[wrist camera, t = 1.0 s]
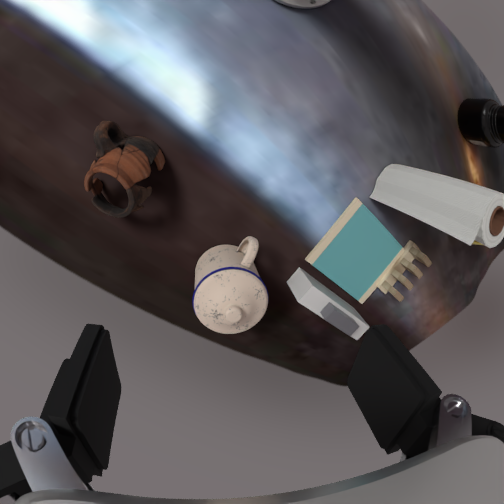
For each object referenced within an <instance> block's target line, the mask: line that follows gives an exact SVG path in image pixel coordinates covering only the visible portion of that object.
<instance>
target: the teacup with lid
mask: <svg viewBox="0 0 504 504" xmlns="http://www.w3.org/2000/svg"><path fill="white" fill-rule="evenodd" d="M258 247H259V243H258V240H257V239H256V238H254V237H251V236H249V237H246V238H245V239H244V240H243V241H242V242H241V244H240V246H239V247H237V246H233V245H219V246H215V247H213V248H211V249H209V250H207V251H206V252H205V253H204V254H203V255H202V256H201V257H200V259H199V260H198V262H197V265H196V269H195V291H194V294H193V308H194V312H195V314H196V316H197V317H198V319H199V320H200V321H201V322H202V323H203V324H204V325H205V326H206V327H208V328H209V329H211V330H213V331H216V332H219V333H224V334H234V333H240V332H243V331H246V330H248V329H250V328H251V327H253V326H254V325H256V324H257V323H258V322H259V321H260V320H261V318H262V317H263V315H264V314H265V312H266V309H267V305H268V291H267V288H266V285H265V284H264V282H263V281H262V279H261V278H260V276H259V274H258V272H257V269H256V267H255V265H254V262H253V261H254V259H255V257H256V255H257V252H258Z"/></svg>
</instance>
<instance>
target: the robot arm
mask: <svg viewBox="0 0 504 504" xmlns="http://www.w3.org/2000/svg"><path fill="white" fill-rule="evenodd" d="M275 1H277V2H279V3H281V4H284V5H286V6H290V7H294V8H301V9H312V8H318V7H321V6H323V5H325V4H327V3H328V2H330V1H331V0H275ZM347 384H348V387H349V389H350V391H351V393H352V395H353V397H354V398H355V400H356V402H357V404H358V406H359V408H360V409H361V411H362V413H363V415H364V417H365V419H366V421H367V423H368V424H369V426H370V428H371V430H372V432H373V434H374V436H375V438H376V440H377V441H378V443H379V445H380V447H381V448H383V449H385V451H386V453H387V454H390V453H393V452H396V451H398V450H399V449H401V450H402V456H401V460H400V462H399V463H397V464H394V465H391V466H388V467H385V468H383V469H380V470H377V471H374V472H371V473H367V474H364V475H361V476H358V477H354V478H351V479H347V480H343V481H339V482H336V483H331V484H327V485H323V486H319V487H314V488H309V489H304V490H298V491H293V492H287V493H281V494H273V495H265V496H256V497H246V498H231V499H166V498H149V497H139V496H130V495H121V494H114V493H105V492H98V491H95V490H94V489H93V487H92V486H91V484H90V483H89V482H91V481H92V476H93V475H97V476H102V471H103V469H105V470H106V469H107V468H108V463H109V456H110V449H111V442H112V437H113V431H114V426H115V419H116V415H117V410H118V405H119V400H120V395H121V383H120V379H119V375H118V371H117V367H116V362H115V358H114V354H113V349H112V344H111V339H110V334H109V331H108V330H104V327H103V326H102V325H95V324H86V326H85V328H84V330H83V332H82V334H81V336H80V338H79V340H78V342H77V344H76V347H75V349H74V351H73V354H72V355H71V358H70V359H65V360H64V361H63V363H62V365H61V367H60V370H59V372H58V374H57V376H56V379H55V381H54V384H53V386H52V388H51V391H50V393H49V395H48V398H47V401H46V403H45V406H44V408H43V411H42V413H41V416H40V418H37V417H27V418H23V419H21V420H19V421H18V422H17V423H16V424H15V425H14V426H13V428H12V431H11V441H9V442H7V443H5V444H2V445H0V504H504V426H503V425H502V424H500V423H498V422H496V421H492V420H489V419H486V418H482V417H479V416H476V415H473V414H471V407H470V406H469V403H468V402H467V401H466V400H465V399H464V398H462V397H461V396H459V395H456V394H447V395H446V396H444V397H443V398H442V399H440V398H439V396H440V395H441V393H442V391H441V390H440V389H439V388H438V386H437V385H436V384H435V383H434V381H433V380H432V379H431V378H430V377H429V375H428V374H427V373H426V371H425V370H424V369H423V368H422V366H421V365H420V364H419V363H418V362H417V360H416V359H415V358H414V357H413V356H412V354H411V353H410V352H409V351H408V349H407V348H406V347H405V346H404V345H403V344H402V342H401V341H400V340H399V339H398V338H397V336H396V335H395V334H394V333H393V332H392V331H391V329H390V328H389V327H388V326H387V325H373V326H371V327H370V329H369V330H367V332H366V334H365V337H364V339H363V342H362V345H361V347H360V350H359V352H358V355H357V357H356V360H355V362H354V365H353V367H352V369H351V372H350V374H349V377H348V379H347Z"/></svg>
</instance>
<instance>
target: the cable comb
mask: <svg viewBox="0 0 504 504" xmlns="http://www.w3.org/2000/svg"><path fill="white" fill-rule="evenodd" d="M404 249H405V251H404V252H403V254H402V255H401V256H400V257H399V259H398V260H397V261H396V262H395V264H394V265H393V266H392V267H391V269H390V270H389V271H388V272H387V273H386V275H385V276H384V277H383V278H382V279H381V281H380V282H379V283H378V284H377V285H376V286H377V287H378V288H379V289H380V290H381V291H382V292H384V293H385V294H386V293H387V292H388V291H389V292H390V293H391V294H392V295H393V296H394V297H395V298H396V299H397V300H398V301H400V302H401V301H402V300H403V299H404V297H403V296H402V295H401V294H400V293H399V292H398V291H397V290H396V289H395V288H394V287H392V286H393V285H394V284H395V282H396V281H397V280H398V281H399V282H400V283H401V284H403V285H404V286H405V287H406V288H407V289H409V290H411V289H412V288H413V285H412V283H411V282H410V281H409V280H408V279H407V278H405V277H404V276H403V275H402V274H403V273H404V271H405V270H406V269H407V270H408V271H409V272H411V273H412V274H413V275H415V276H416V277H417V278H419V279H420V278H421V276H422V275H423V274H422V272H421V271H420V270H419V269H418V268H417V267H416V266H415V265H413V264H412V263H411V262H412V261H413V260H414V259H417V260H418V261H420V262H421V263H423V264H424V265H426V266H427V267H429V266H430V265H431V263H432V262H431V261H430V259H429V258H428V257H427V255H425V254H424V253H422V252H421V250H420V249H419V248H418V247H417V245H416V244H415V243H414V242H412V241H411V240H409V241H408V243H407V244H406V245H405V247H404Z"/></svg>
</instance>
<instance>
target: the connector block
mask: <svg viewBox="0 0 504 504" xmlns="http://www.w3.org/2000/svg"><path fill="white" fill-rule="evenodd" d="M287 284H288V285H289V287H290V289H291V290H292V292H293V294H294V296H295V297H296V299H297V301H298V302H299V303H300V304H302V305H303V306H305V307H306V308H308V309H310V310H311V311H313V312H314V313H316V314H317V315H319V316H320V317H322V318H323V319H325V320H326V321H327V322H329V323H330V324H332V325H334V326H335V327H337V328H338V329H340V330H341V331H343V332H344V333H346V334H347V335H349V336H351V337H353V338H354V339H356V340H358V339H359V338H360V337H361V336H362V335H363V334H364V333H365V332H366V331H367V329H368V328H369V325H368V324H367V323H366V322H365V321H364V319H363V318H362V317H361V316H360V315H359V313H358V312H357V311H356V310H355V309H354V308H353V307H352V306H351V305H349V304H348V303H347V302H345V301H344V300H343V299H341V298H340V297H339V296H337V295H336V294H335V293H333V292H332V291H331V290H329V289H328V288H327V287H325V286H324V285H323V284H321V283H320V282H319V281H317V280H316V279H315V278H313V277H312V276H311V275H309V274H308V273H307V272H305V271H304V270H303V269H301V268H300V267H299V268H298V269H297V271H296V272H295V273H294V274H293V275H292V276H291V277H290V279H289V280H288V281H287Z"/></svg>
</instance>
